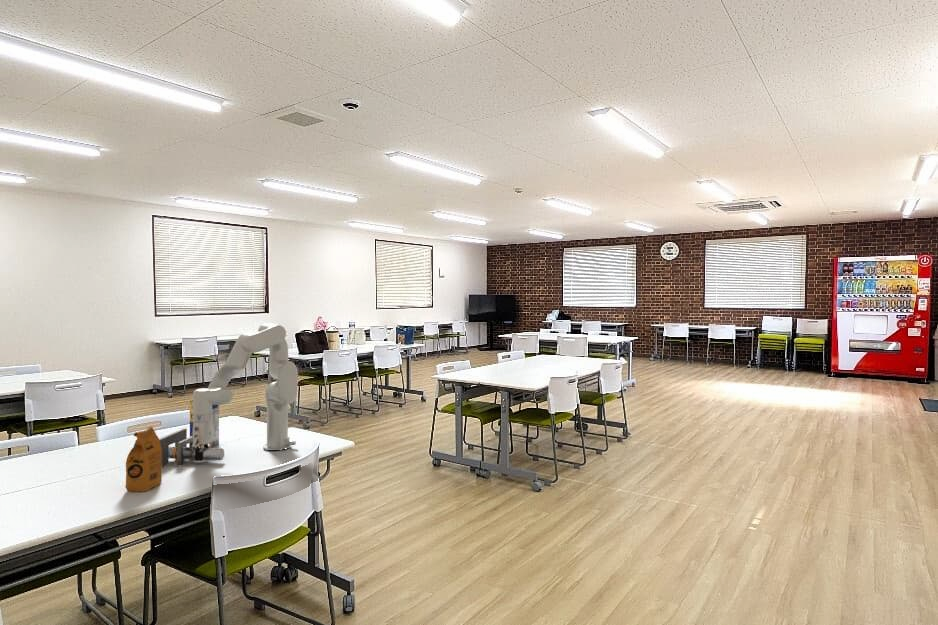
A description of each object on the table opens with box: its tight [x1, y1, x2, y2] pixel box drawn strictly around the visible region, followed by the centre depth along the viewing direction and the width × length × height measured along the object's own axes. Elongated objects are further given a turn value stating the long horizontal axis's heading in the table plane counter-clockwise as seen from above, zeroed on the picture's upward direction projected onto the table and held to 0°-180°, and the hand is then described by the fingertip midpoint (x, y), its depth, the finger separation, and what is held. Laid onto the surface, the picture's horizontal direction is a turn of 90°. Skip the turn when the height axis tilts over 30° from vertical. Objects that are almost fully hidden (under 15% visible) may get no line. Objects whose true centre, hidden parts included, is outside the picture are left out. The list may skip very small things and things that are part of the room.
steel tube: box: [169, 446, 225, 461], centre depth 244 cm, size 24×5×5 cm, turn 87°
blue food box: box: [189, 399, 220, 448], centre depth 270 cm, size 7×11×22 cm, turn 86°
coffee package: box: [125, 426, 163, 493], centre depth 212 cm, size 10×12×22 cm
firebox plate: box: [158, 427, 188, 468], centre depth 244 cm, size 2×20×12 cm, turn 177°
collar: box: [176, 436, 193, 466], centre depth 244 cm, size 2×11×10 cm, turn 177°
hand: (202, 458), depth 244 cm, fingers closed on steel tube, 5 cm apart
